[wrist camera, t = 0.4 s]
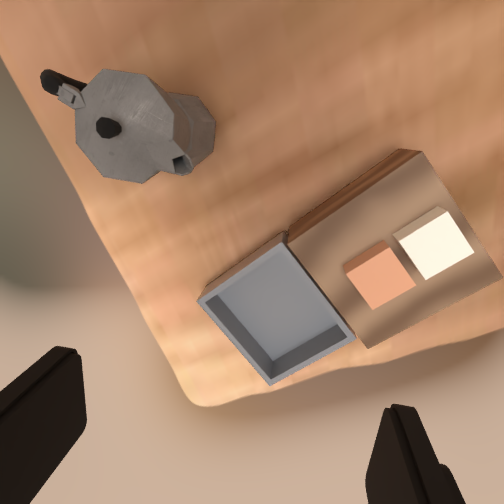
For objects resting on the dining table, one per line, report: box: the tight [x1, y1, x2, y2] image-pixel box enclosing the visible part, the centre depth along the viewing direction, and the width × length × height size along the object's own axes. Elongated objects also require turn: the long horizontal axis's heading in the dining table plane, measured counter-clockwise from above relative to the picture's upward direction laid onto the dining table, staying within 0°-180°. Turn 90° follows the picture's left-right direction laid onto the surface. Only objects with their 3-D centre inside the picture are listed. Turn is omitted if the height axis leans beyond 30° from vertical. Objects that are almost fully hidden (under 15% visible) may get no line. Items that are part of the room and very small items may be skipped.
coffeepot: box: [40, 69, 216, 184], centre depth 34 cm, size 15×9×18 cm, turn 59°
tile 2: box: [392, 206, 474, 280], centre depth 34 cm, size 5×5×2 cm
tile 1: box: [343, 240, 416, 310], centre depth 35 cm, size 5×5×2 cm
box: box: [197, 231, 357, 386], centre depth 46 cm, size 16×14×5 cm
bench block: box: [287, 149, 503, 349], centre depth 40 cm, size 16×16×8 cm
